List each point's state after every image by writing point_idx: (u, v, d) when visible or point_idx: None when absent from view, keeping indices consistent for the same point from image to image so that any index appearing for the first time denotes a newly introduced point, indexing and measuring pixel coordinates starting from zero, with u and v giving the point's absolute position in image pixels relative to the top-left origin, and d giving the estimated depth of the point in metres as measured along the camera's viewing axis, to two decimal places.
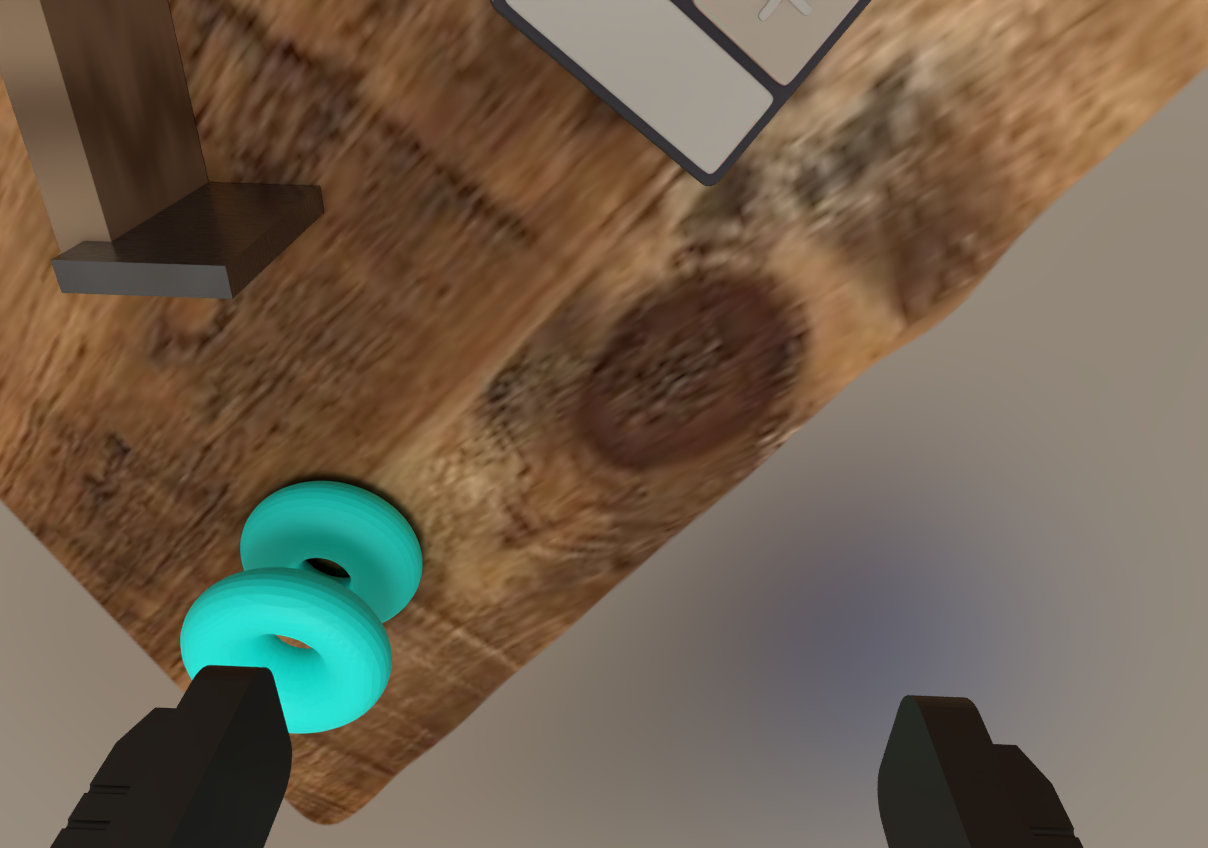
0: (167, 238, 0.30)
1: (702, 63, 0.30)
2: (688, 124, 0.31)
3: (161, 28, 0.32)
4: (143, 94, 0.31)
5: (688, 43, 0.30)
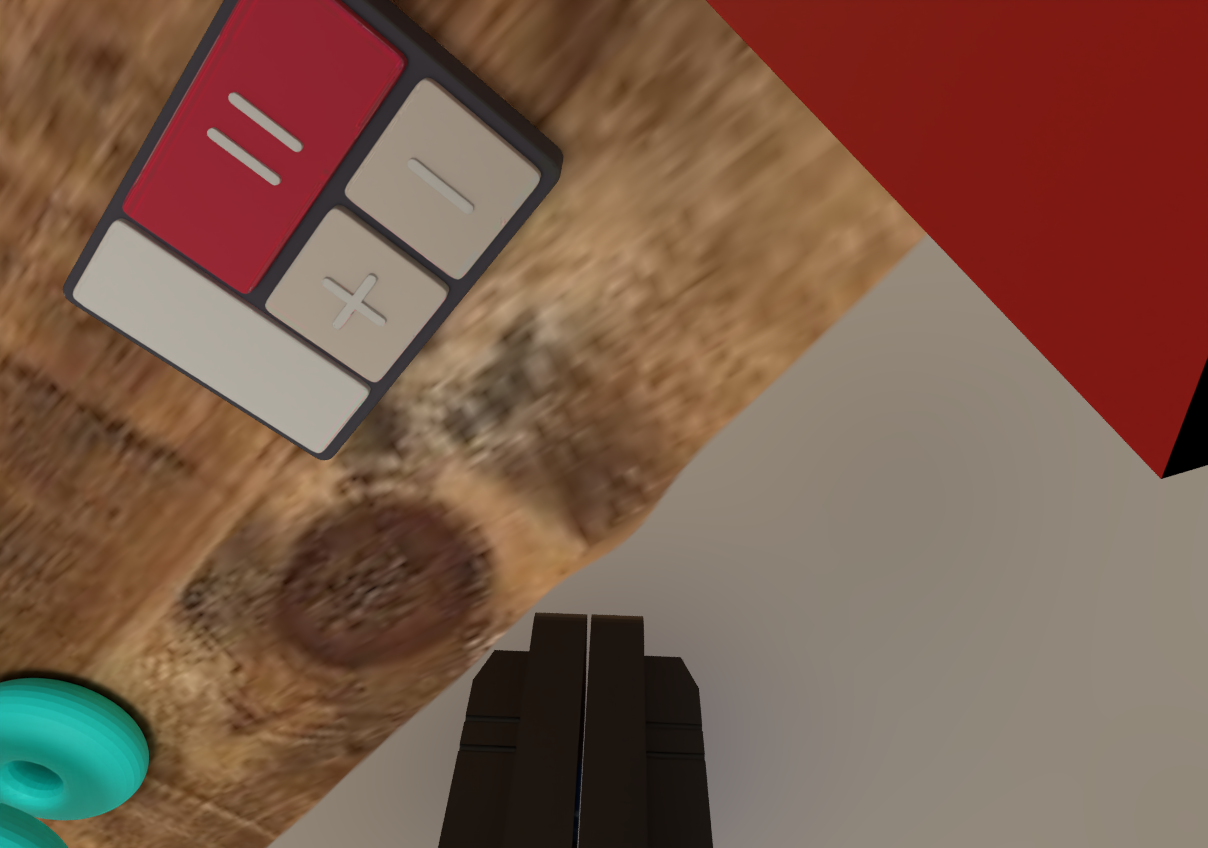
0: None
1: (288, 358, 0.30)
2: (287, 411, 0.31)
3: None
4: None
5: (270, 342, 0.29)
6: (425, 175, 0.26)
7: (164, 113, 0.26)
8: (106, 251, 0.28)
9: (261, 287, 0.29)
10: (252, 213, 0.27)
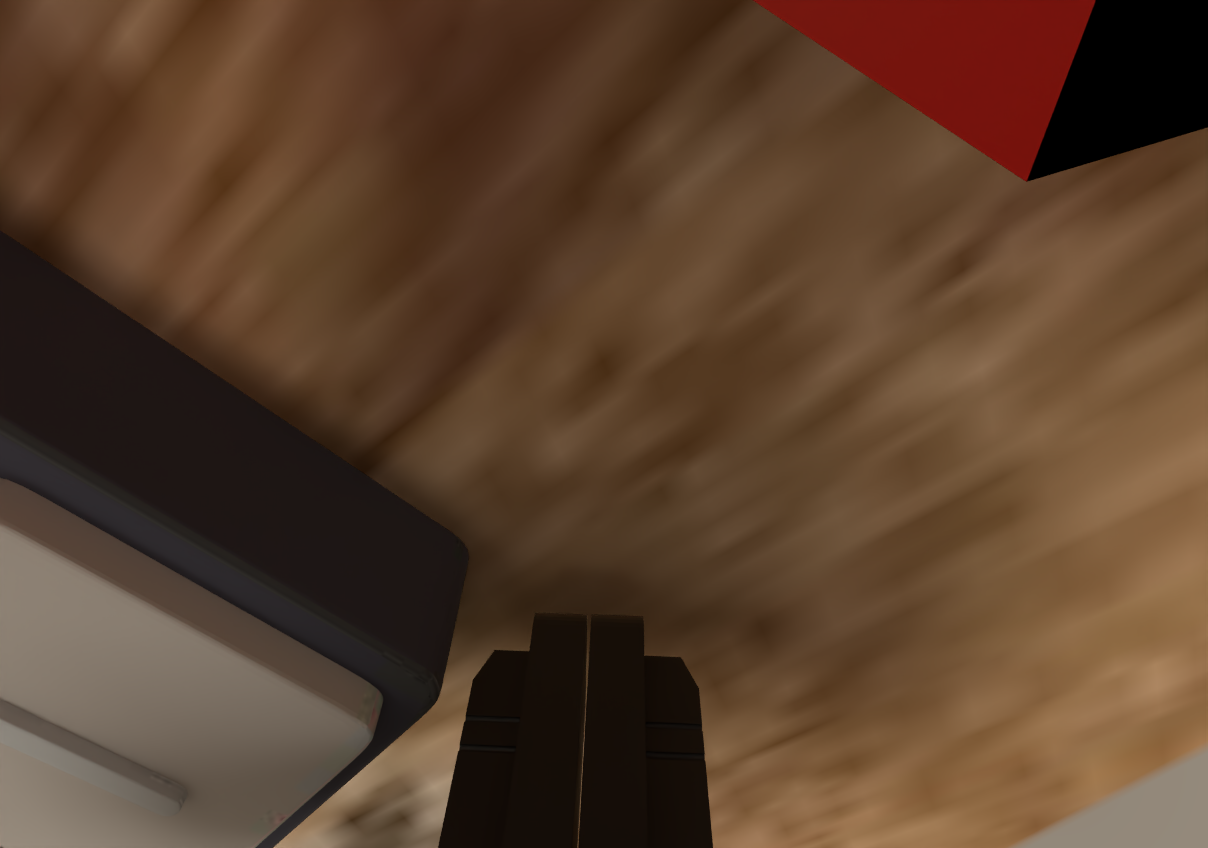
0: None
1: None
2: None
3: None
4: None
5: None
6: (17, 741, 0.09)
7: None
8: None
9: None
10: None
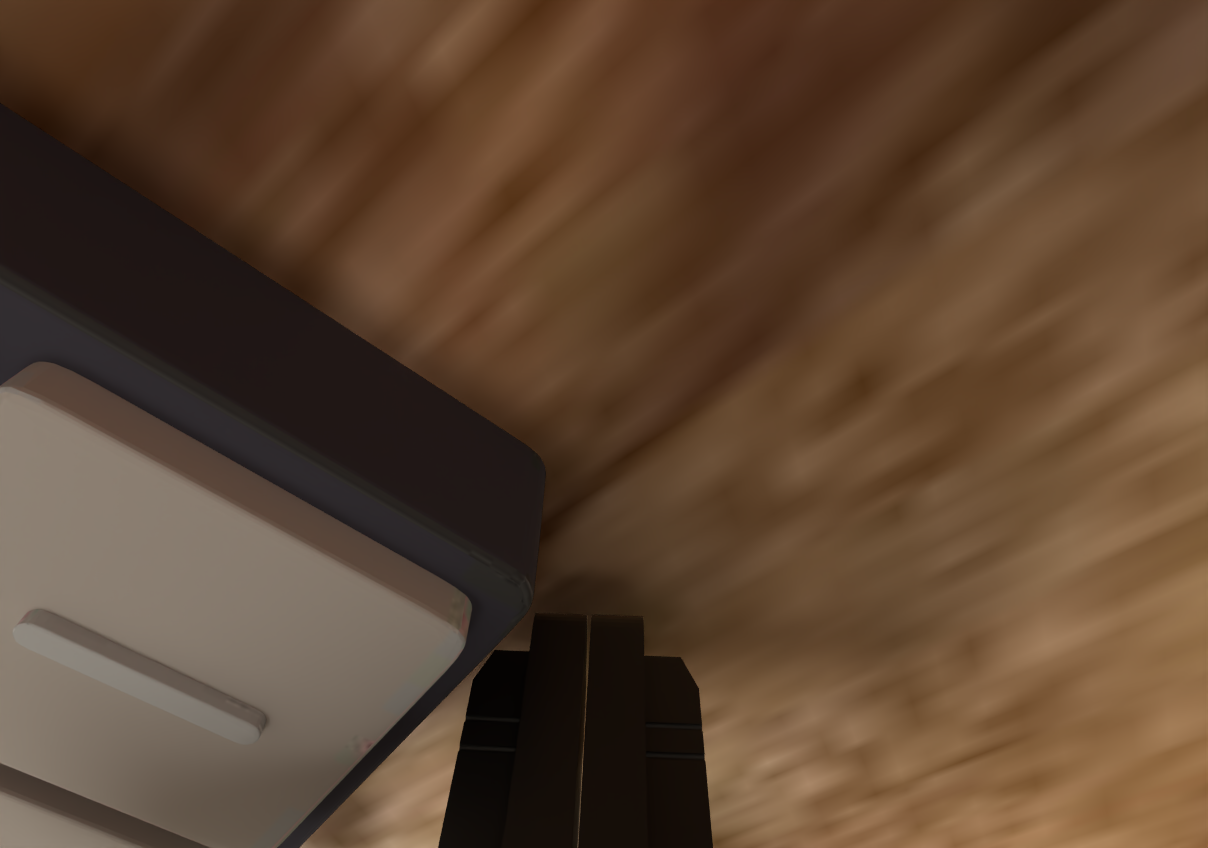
0: None
1: None
2: None
3: None
4: None
5: None
6: (81, 662, 0.08)
7: None
8: None
9: None
10: None
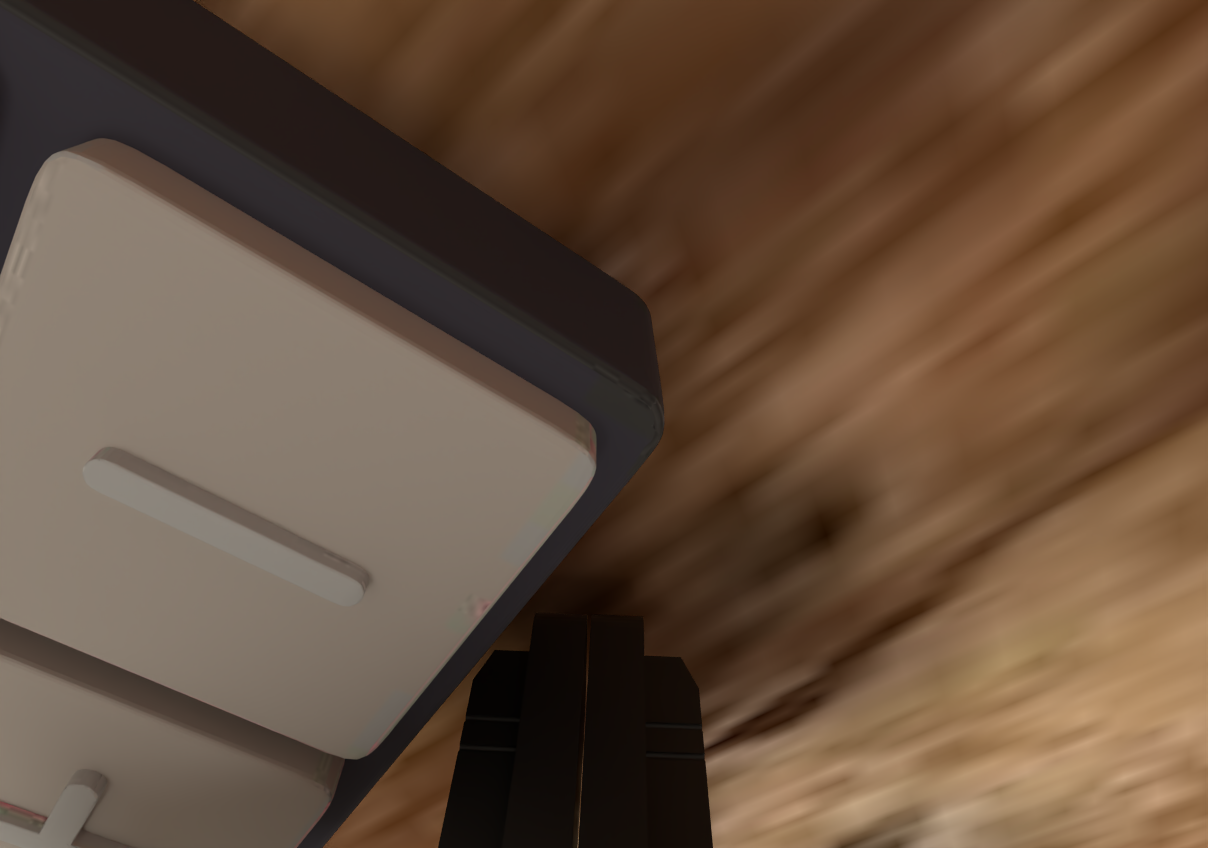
0: None
1: None
2: None
3: None
4: None
5: None
6: (161, 507, 0.07)
7: None
8: None
9: None
10: None
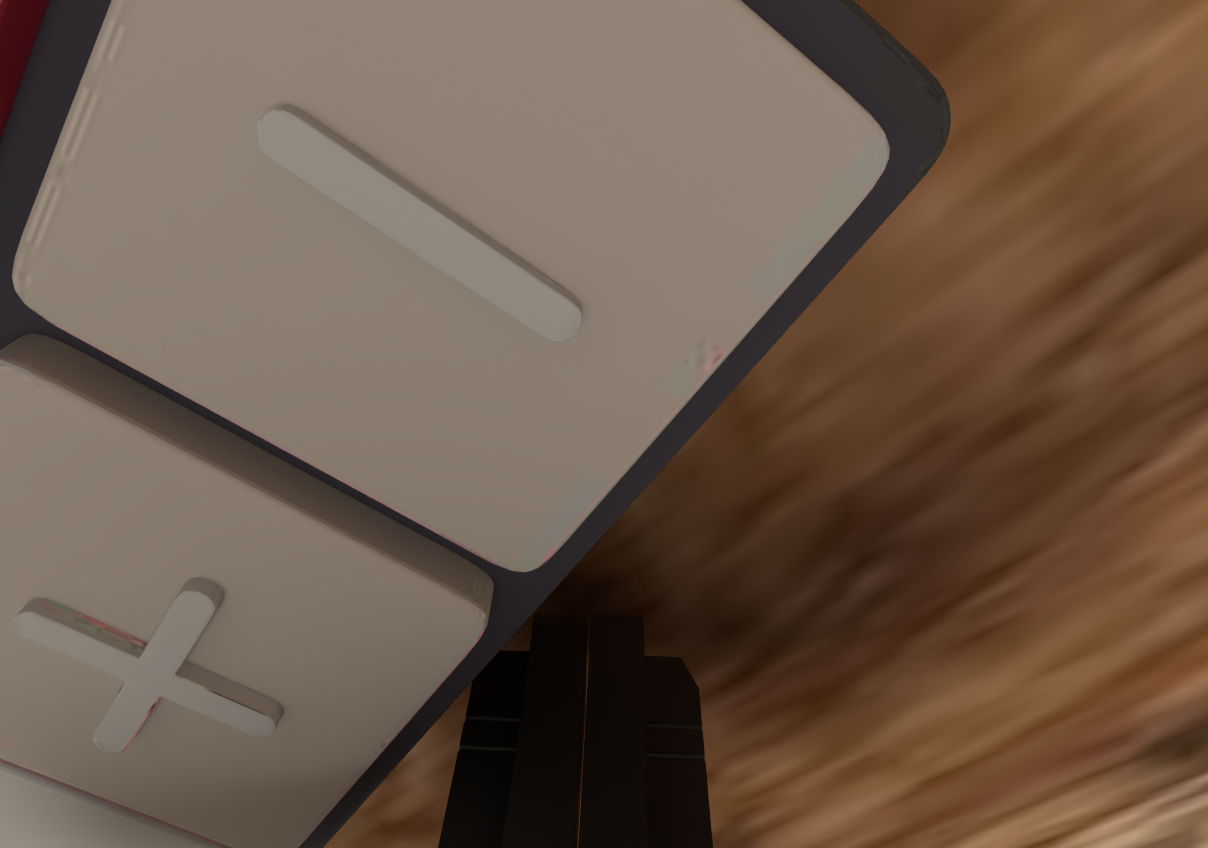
0: None
1: None
2: None
3: None
4: None
5: None
6: (350, 185, 0.05)
7: None
8: None
9: None
10: None
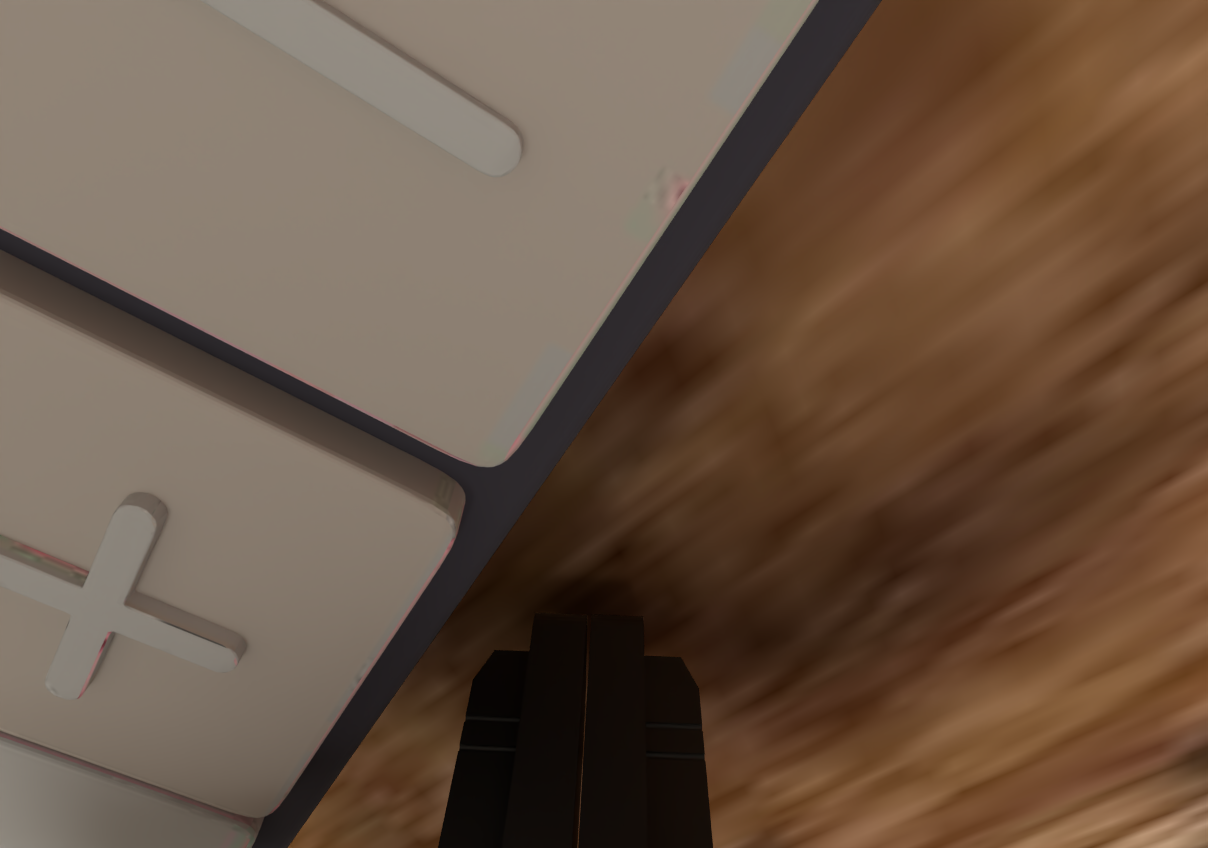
0: None
1: None
2: None
3: None
4: None
5: None
6: None
7: None
8: None
9: None
10: None
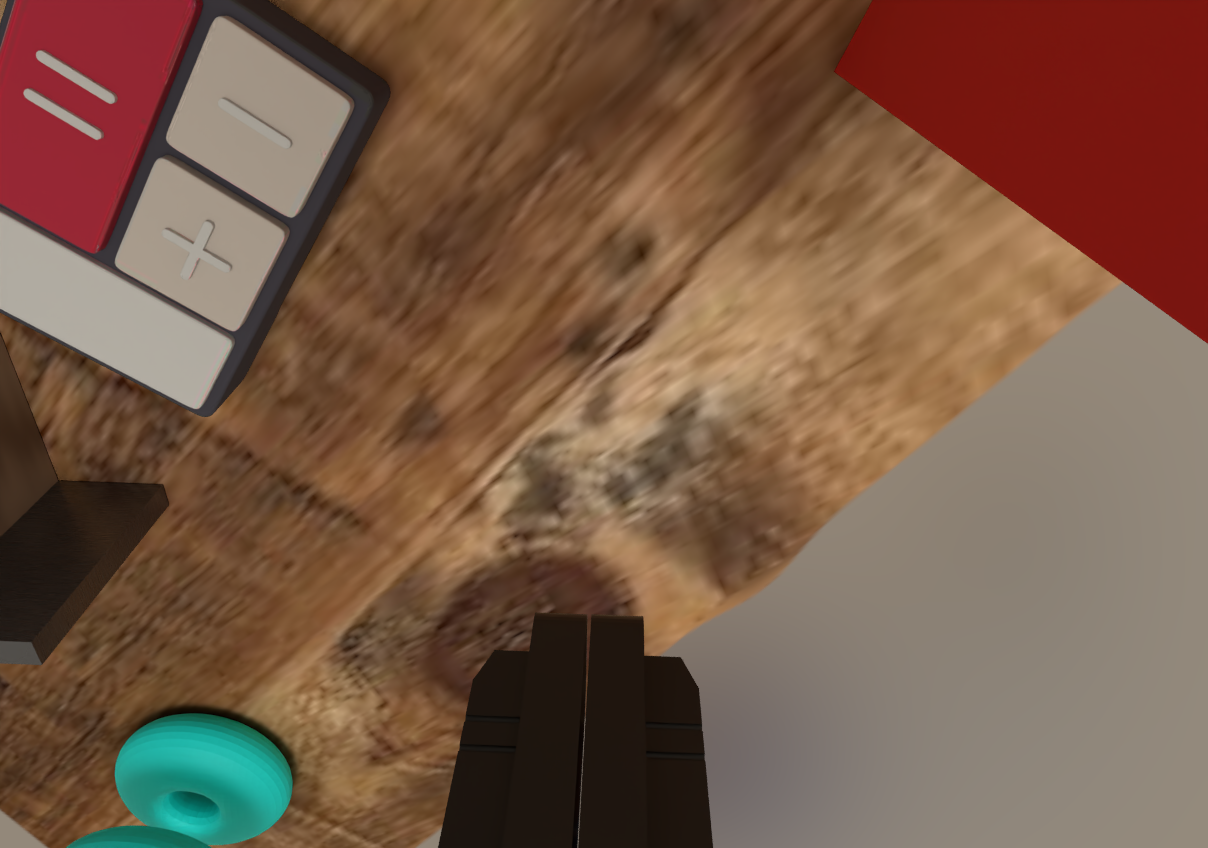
0: None
1: (149, 315, 0.31)
2: (158, 368, 0.32)
3: None
4: None
5: (128, 300, 0.30)
6: (237, 113, 0.27)
7: None
8: None
9: (111, 246, 0.30)
10: (83, 171, 0.28)
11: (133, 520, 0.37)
